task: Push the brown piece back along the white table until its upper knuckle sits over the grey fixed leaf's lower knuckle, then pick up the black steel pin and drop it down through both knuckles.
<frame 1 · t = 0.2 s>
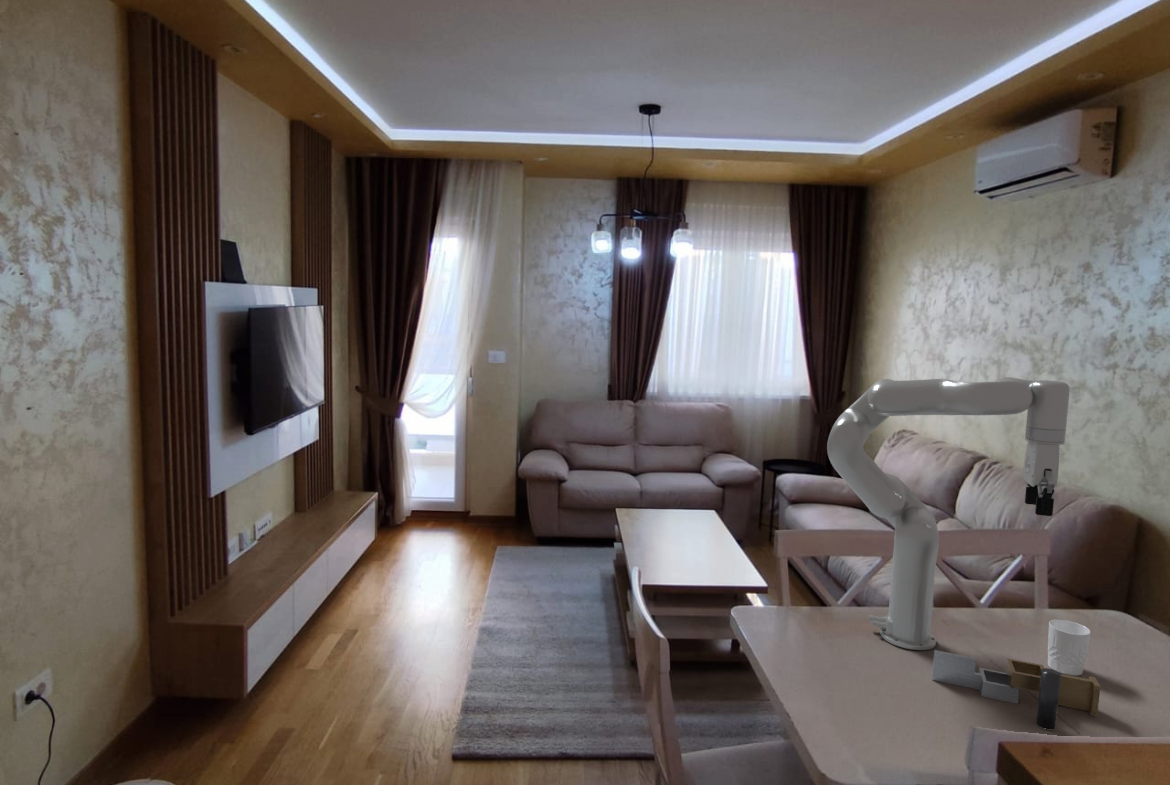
hand: (1038, 509, 161), 36 cm above the table, tool pointing down, fingers open, 9 cm apart
white cup: (1064, 669, 162), on the table
pin: (1045, 725, 139), on the table
fixed leaf: (997, 692, 151), on the table
brown piece: (1051, 687, 147), point 3 cm above the table, slide at 5.0 cm
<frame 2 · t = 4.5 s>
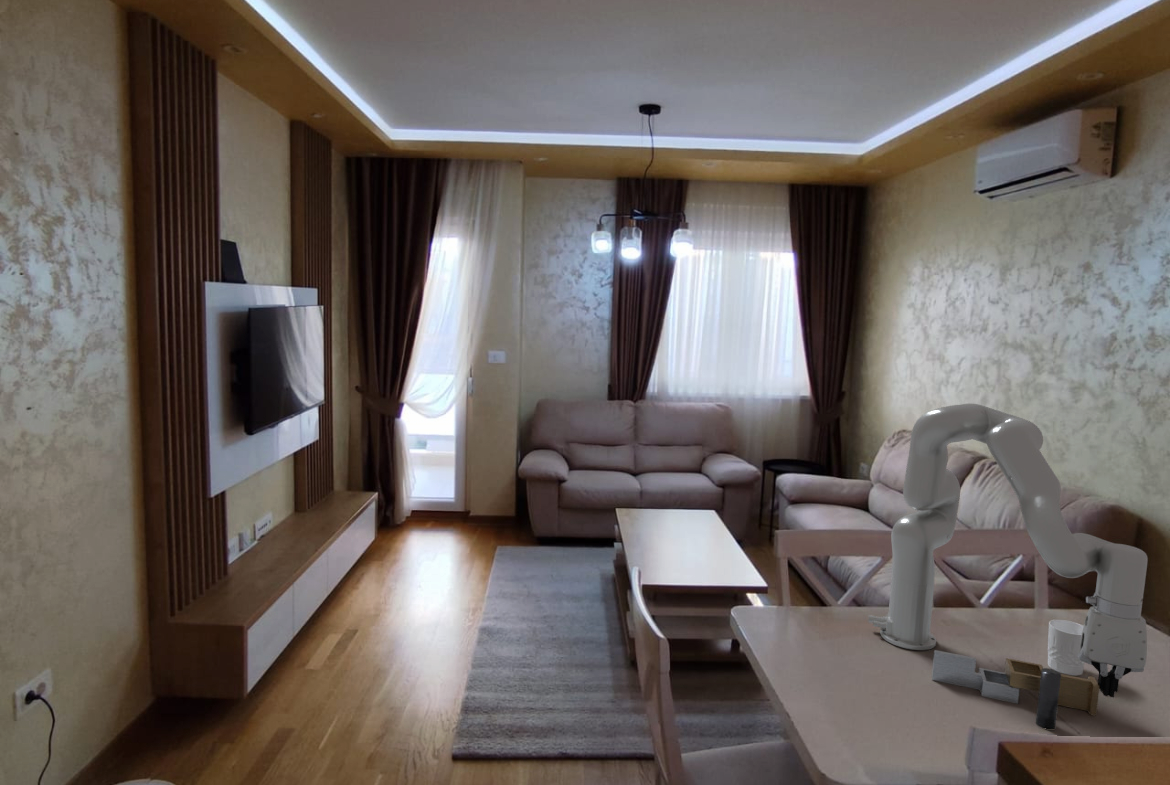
hand: (1106, 693, 143), 4 cm above the table, tool pointing down, fingers closed
brown piece: (1050, 687, 147), point 3 cm above the table, slide at 4.8 cm, touching gripper
everything else where it was.
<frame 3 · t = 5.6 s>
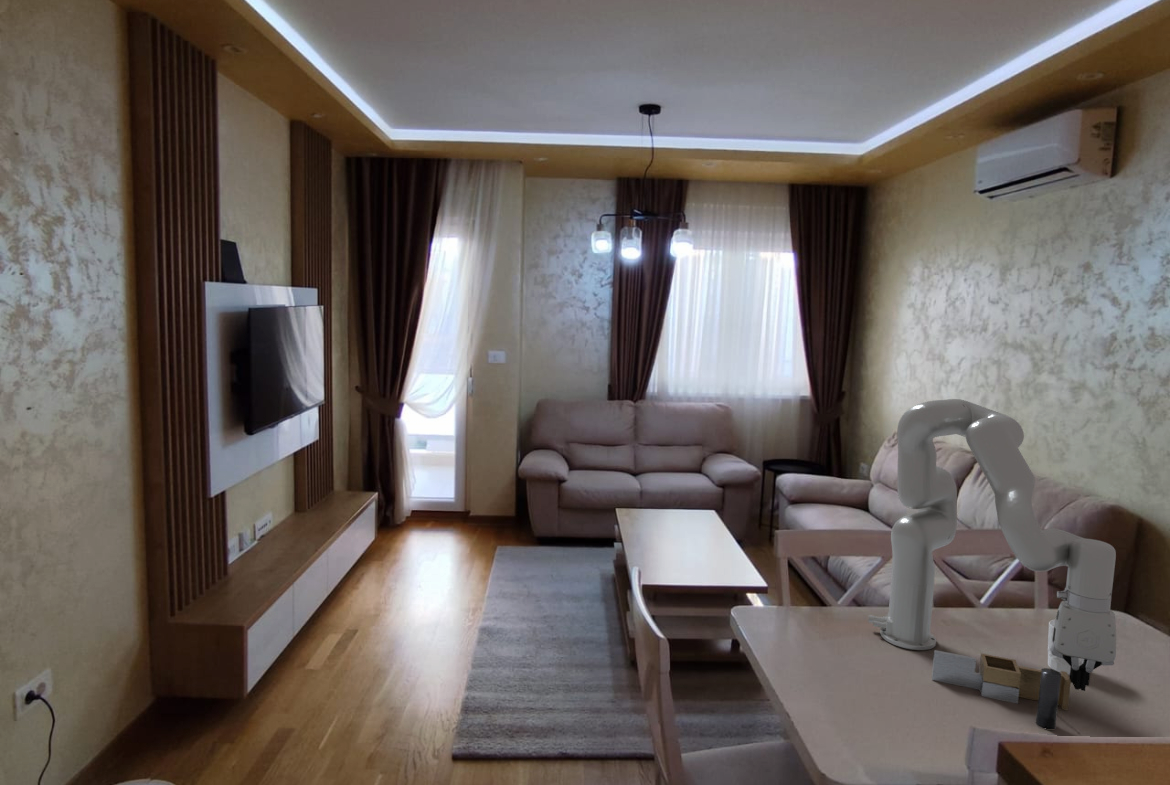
hand: (1078, 686, 145), 5 cm above the table, tool pointing down, fingers closed
brown piece: (1023, 682, 149), point 3 cm above the table, slide at 0.0 cm, touching fixed leaf, gripper
everything else where it was.
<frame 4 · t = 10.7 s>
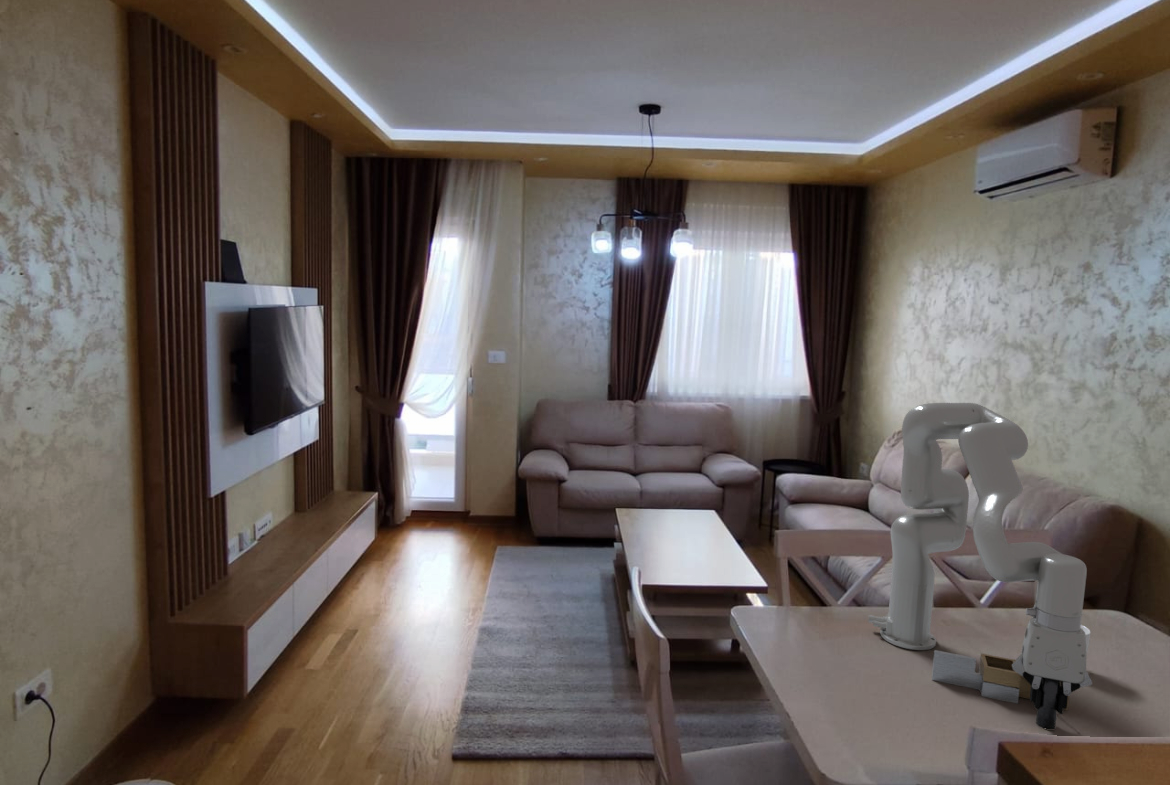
hand: (1047, 707, 139), 4 cm above the table, tool pointing down, fingers closed on pin, 3 cm apart
pin: (1045, 725, 139), on the table, touching gripper
brown piece: (1023, 682, 149), point 3 cm above the table, slide at 0.0 cm, touching fixed leaf
everything else where it was.
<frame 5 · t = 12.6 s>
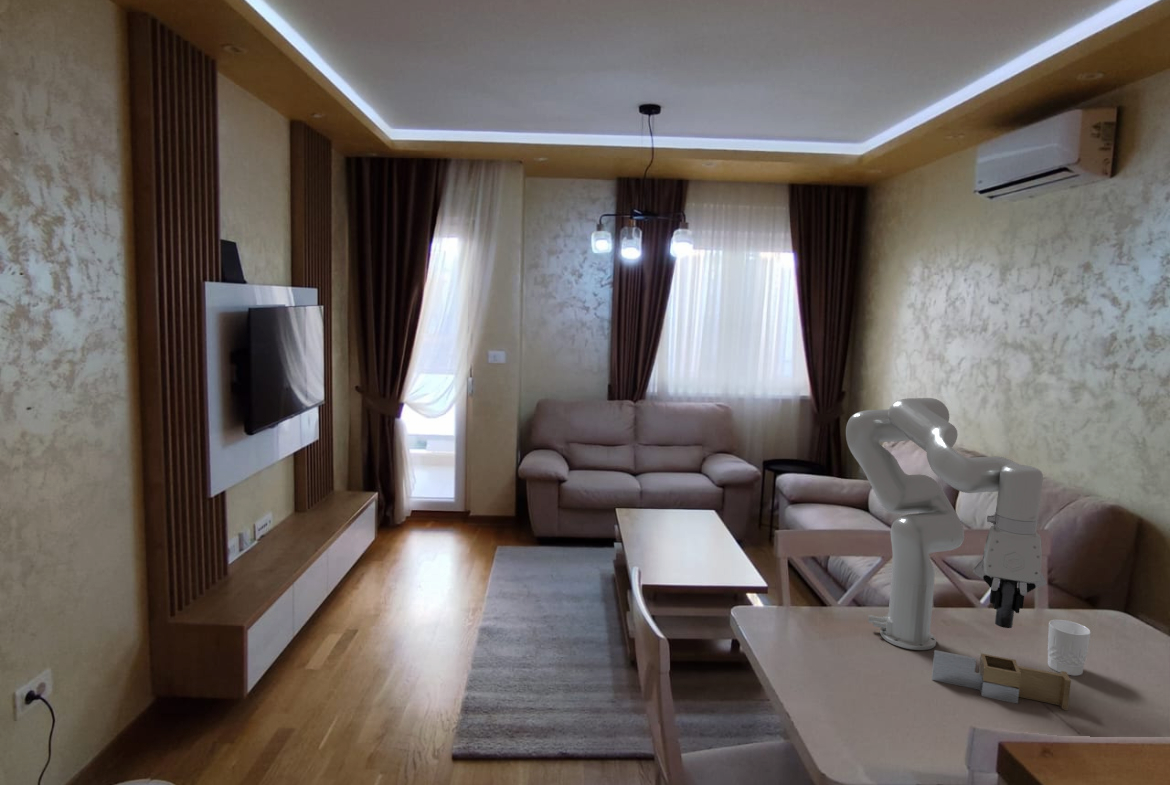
hand: (1005, 607, 149), 19 cm above the table, tool pointing down, fingers closed on pin, 3 cm apart
pin: (1003, 624, 149), point 15 cm above the table, touching gripper
everything else where it was.
when the fingers open (8 cm above the table, at t = 14.9 s): pin drops 4 cm, resting in fixed leaf.
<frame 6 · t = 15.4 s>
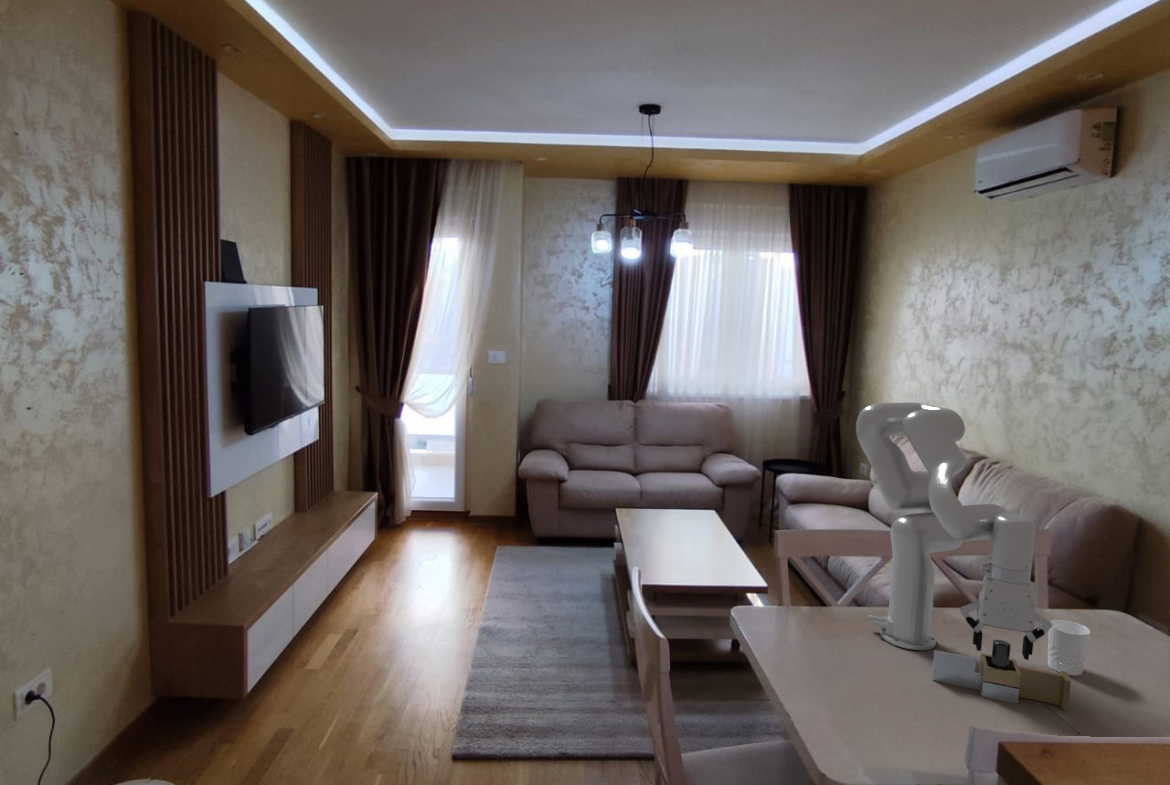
hand: (1001, 652, 150), 9 cm above the table, tool pointing down, fingers open, 8 cm apart
pin: (996, 692, 151), resting in fixed leaf
everything else where it was.
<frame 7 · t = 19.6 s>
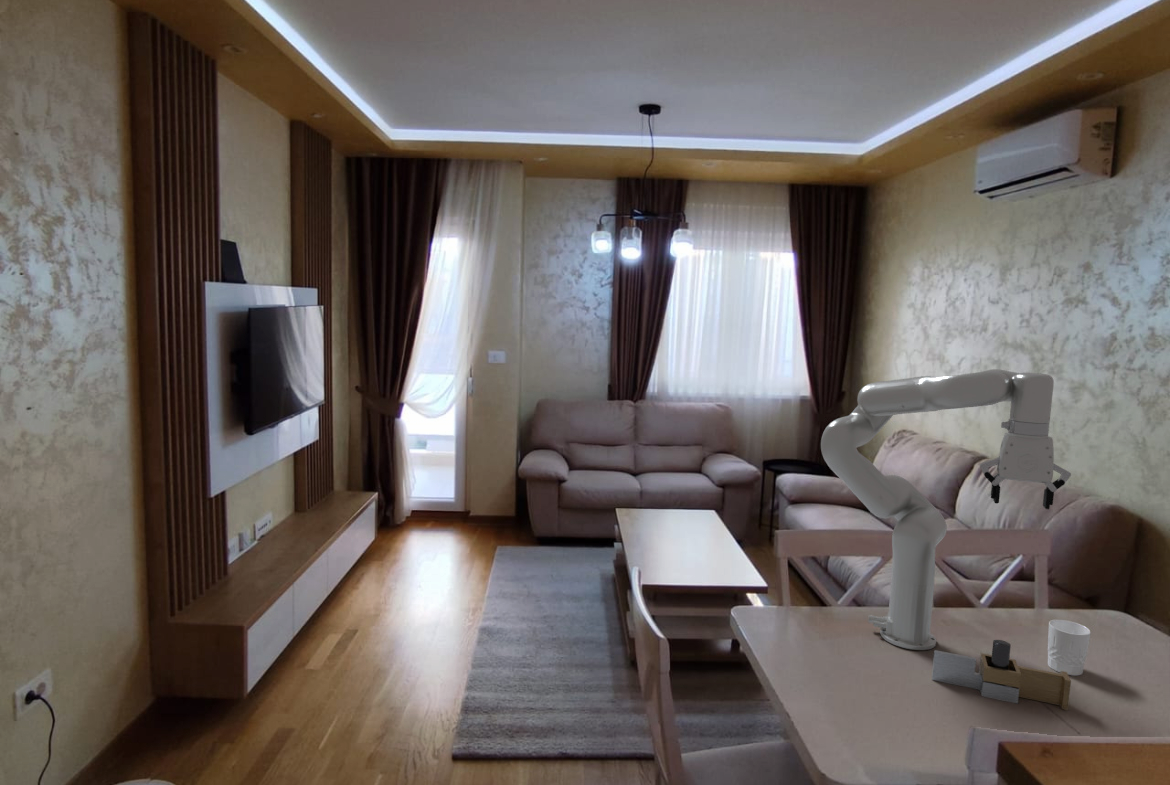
hand: (1020, 504, 157), 38 cm above the table, tool pointing down, fingers open, 9 cm apart
nothing on the table moved.
at the end: brown piece slide at 0.0 cm; pin 0.1 cm off-centre on the fixed leaf, point 0.0 cm above the fixed leaf's base; the gripper is holding nothing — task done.
